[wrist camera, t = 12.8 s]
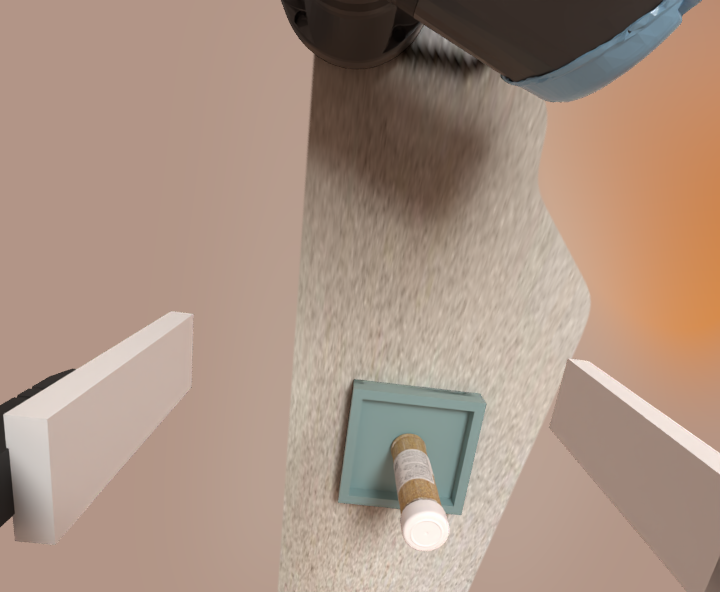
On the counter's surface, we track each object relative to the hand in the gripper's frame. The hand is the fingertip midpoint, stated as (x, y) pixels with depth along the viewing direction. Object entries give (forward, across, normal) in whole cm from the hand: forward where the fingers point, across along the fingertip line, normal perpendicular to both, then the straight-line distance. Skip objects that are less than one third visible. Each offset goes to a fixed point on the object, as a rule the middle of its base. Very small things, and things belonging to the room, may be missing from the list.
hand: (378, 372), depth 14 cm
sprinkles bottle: (+32, +9, -24) cm, 41 cm away
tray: (+33, +9, -24) cm, 42 cm away
